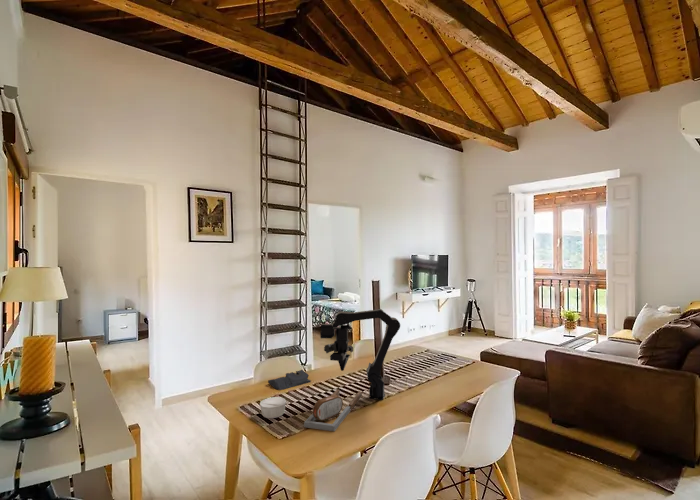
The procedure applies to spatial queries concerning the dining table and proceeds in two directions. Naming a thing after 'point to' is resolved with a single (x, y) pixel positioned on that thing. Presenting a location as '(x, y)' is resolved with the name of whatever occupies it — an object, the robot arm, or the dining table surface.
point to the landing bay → (326, 426)
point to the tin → (327, 407)
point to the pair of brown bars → (353, 398)
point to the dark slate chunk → (290, 380)
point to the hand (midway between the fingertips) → (342, 370)
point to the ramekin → (273, 407)
